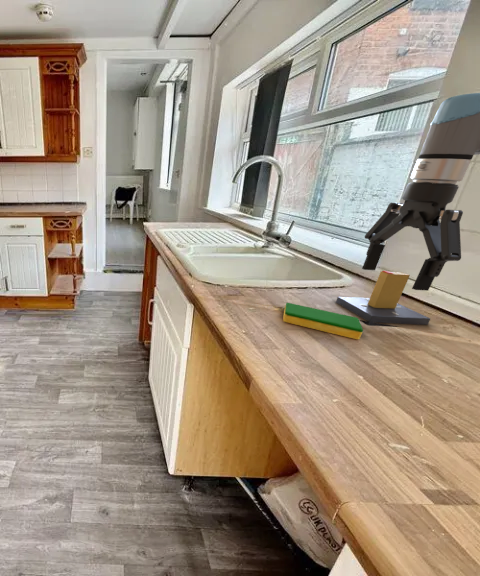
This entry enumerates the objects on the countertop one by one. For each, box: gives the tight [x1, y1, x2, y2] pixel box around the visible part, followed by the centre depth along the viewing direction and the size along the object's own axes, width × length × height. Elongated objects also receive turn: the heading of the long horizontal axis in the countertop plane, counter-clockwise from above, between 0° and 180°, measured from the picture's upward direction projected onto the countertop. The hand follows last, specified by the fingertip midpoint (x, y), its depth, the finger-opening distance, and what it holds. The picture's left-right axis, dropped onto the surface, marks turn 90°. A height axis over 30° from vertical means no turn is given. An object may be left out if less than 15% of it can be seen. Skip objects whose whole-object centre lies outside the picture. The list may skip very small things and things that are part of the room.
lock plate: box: [335, 296, 431, 328], centre depth 74 cm, size 13×11×3 cm
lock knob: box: [368, 270, 410, 309], centre depth 72 cm, size 5×2×9 cm, turn 88°
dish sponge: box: [282, 302, 364, 340], centre depth 68 cm, size 7×14×2 cm, turn 58°
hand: (391, 278), depth 71 cm, fingers open, 13 cm apart
